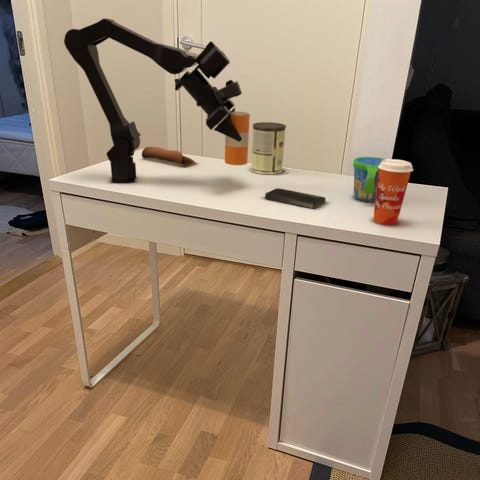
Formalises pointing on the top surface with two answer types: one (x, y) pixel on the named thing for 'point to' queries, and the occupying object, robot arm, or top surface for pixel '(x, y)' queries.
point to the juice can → (233, 149)
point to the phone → (295, 198)
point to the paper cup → (391, 190)
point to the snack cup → (366, 177)
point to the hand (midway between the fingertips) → (241, 138)
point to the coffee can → (268, 147)
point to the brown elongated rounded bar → (167, 155)
